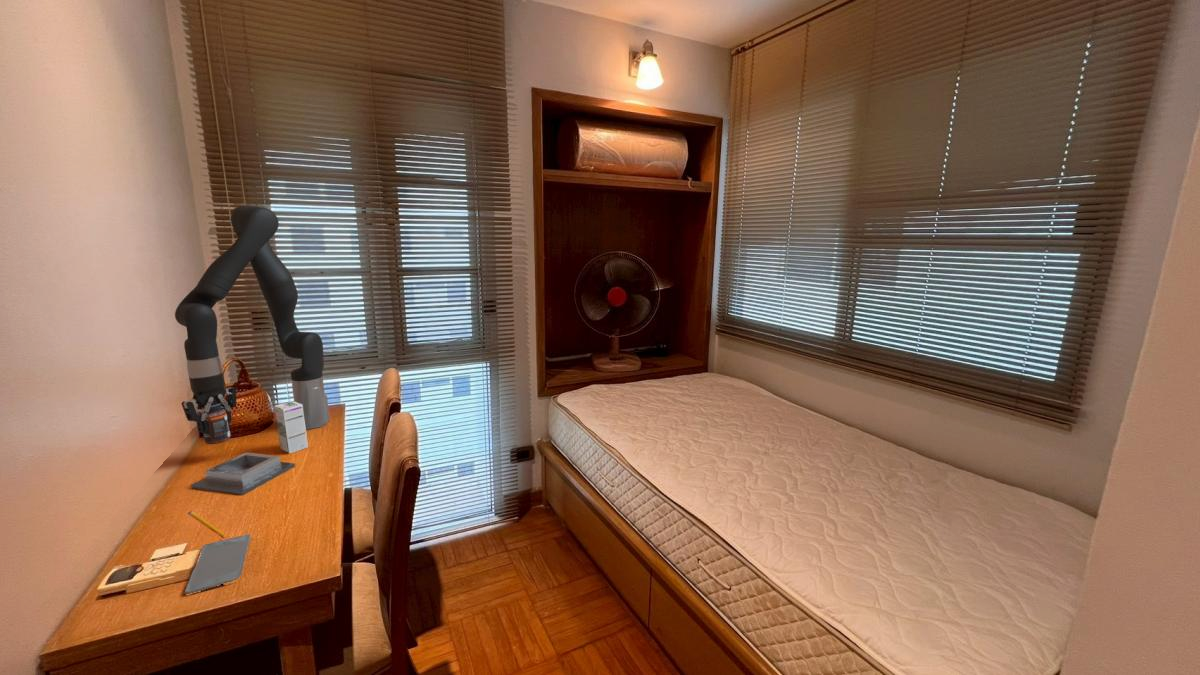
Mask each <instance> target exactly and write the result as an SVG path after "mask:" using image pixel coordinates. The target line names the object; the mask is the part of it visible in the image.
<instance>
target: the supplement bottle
mask: <svg viewBox="0 0 1200 675" xmlns="http://www.w3.org/2000/svg"><path fill="white" fill-rule="evenodd" d="M203 409H204V408H202V410H203ZM205 420H207V426H208V432H207V433H202V434H203V440H204V443H205V444H207V445H219V444H222V443H225V442H227V441H229V440H230V439H231V437H232V436H231V431H230V426H229V424H228V419H227V414H226V411H225V410H224V409H222V408H221V405H220V403H219V404H216V405H213V406H211V407H210V410H209V412H208V413H207V416H206V419H205Z"/></svg>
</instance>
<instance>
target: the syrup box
mask: <svg viewBox="0 0 1200 675" xmlns="http://www.w3.org/2000/svg"><path fill="white" fill-rule="evenodd" d="M274 410H275V411H274V412H275V413H274V414H275V419H276V425H277V433H278V440H279V446H280V447H279V448H280V450H281V451H283V452H286V453H288V454H293V452H294V453H296V451H297V452H300V451H302V449H303V450H305V448H306V449H308V448H309V444H308V437H307V436H308V435H307V429H306V427H305V420H304V413H303V405H302V404H300V403H297V402H294V400H291V401H287V402H283V403H279V404H277V405H274ZM299 450H300V451H299Z"/></svg>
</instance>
